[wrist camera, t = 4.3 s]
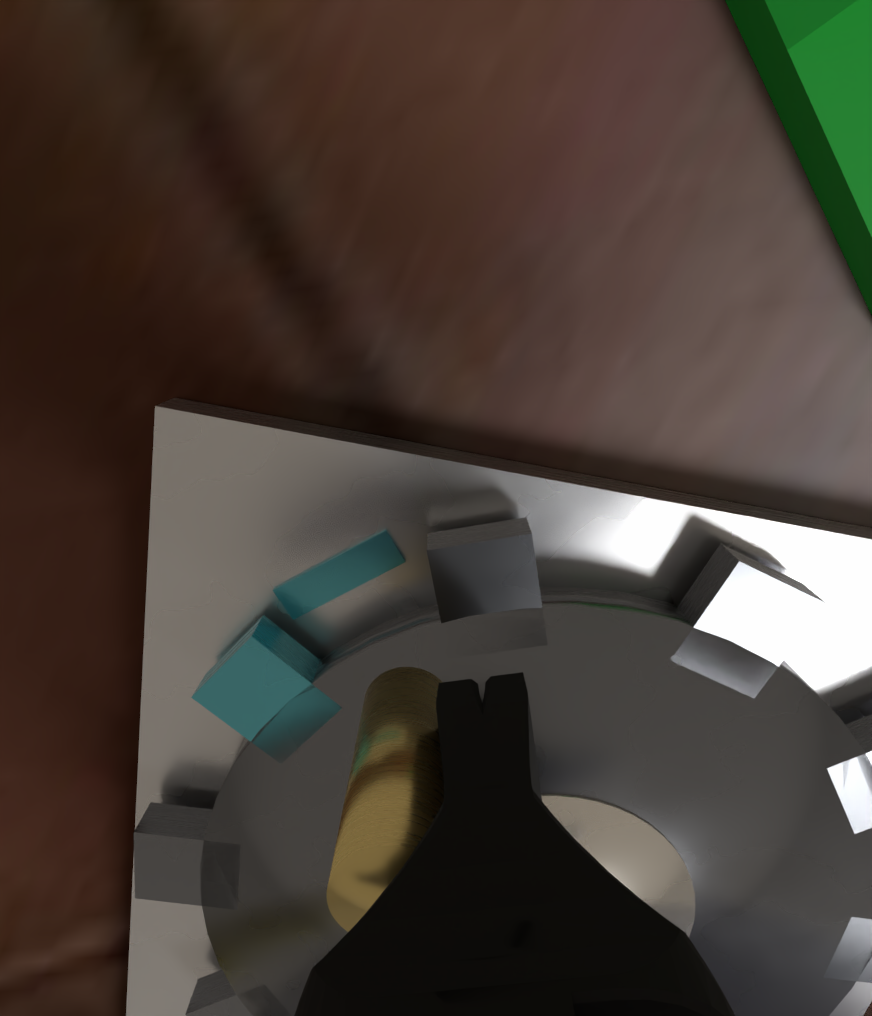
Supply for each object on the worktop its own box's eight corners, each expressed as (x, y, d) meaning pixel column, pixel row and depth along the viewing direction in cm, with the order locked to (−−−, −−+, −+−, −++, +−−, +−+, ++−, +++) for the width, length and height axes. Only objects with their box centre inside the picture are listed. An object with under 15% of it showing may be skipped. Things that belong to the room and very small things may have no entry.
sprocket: (789, 353, 12) (1045, 406, 7) (1017, 995, 17) (1257, 1294, 12) (-10, 749, 15) (-242, 988, 10) (389, 1189, 20) (369, 1492, 15)
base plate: (1071, 565, 15) (1119, 587, 14) (761, 1124, 21) (778, 1167, 20) (175, 397, 14) (153, 406, 13) (138, 1036, 20) (121, 1077, 19)
